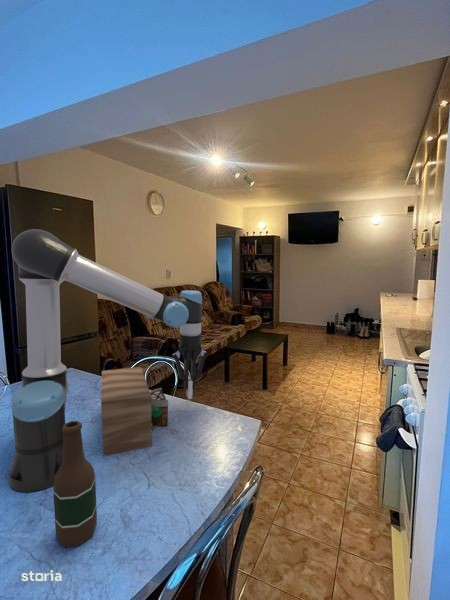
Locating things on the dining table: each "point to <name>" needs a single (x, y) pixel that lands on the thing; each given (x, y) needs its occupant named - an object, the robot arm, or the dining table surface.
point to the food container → (159, 408)
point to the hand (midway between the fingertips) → (189, 397)
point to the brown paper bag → (125, 411)
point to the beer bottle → (74, 491)
